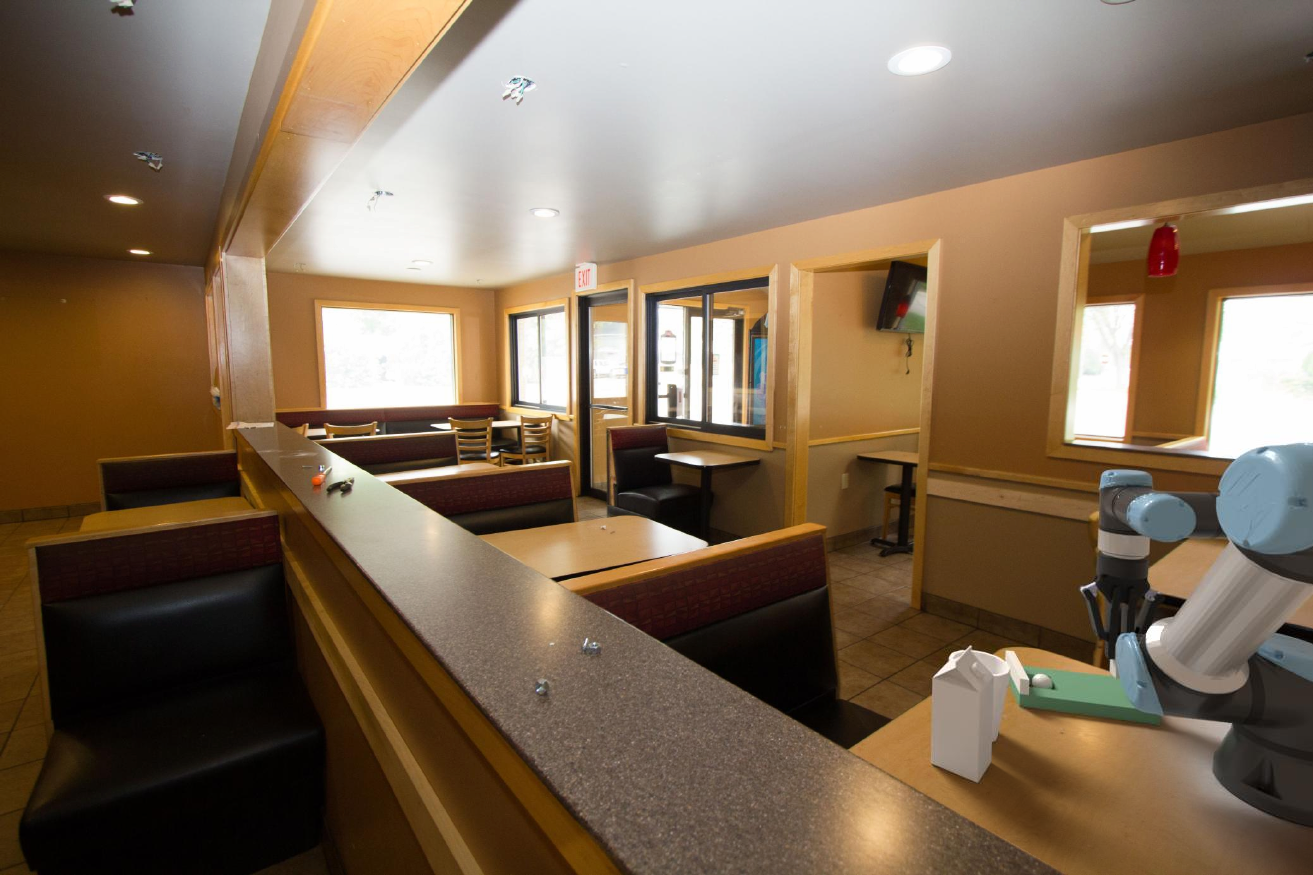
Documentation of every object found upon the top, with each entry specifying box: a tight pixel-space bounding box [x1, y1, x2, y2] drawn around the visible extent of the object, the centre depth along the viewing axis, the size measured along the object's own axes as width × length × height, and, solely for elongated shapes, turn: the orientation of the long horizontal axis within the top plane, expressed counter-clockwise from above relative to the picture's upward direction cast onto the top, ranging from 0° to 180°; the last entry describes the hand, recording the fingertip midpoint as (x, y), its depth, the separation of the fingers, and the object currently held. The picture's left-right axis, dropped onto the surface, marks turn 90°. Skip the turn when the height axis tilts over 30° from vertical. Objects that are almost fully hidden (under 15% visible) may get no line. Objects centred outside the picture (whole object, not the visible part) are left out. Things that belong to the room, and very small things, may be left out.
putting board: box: [1004, 650, 1162, 726], centre depth 115 cm, size 12×22×6 cm, turn 71°
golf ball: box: [1032, 674, 1053, 690], centre depth 117 cm, size 4×4×4 cm
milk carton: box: [930, 645, 994, 784], centre depth 96 cm, size 7×7×19 cm
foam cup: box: [948, 649, 1010, 743], centre depth 105 cm, size 10×9×13 cm
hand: (1117, 675), depth 112 cm, fingers closed
